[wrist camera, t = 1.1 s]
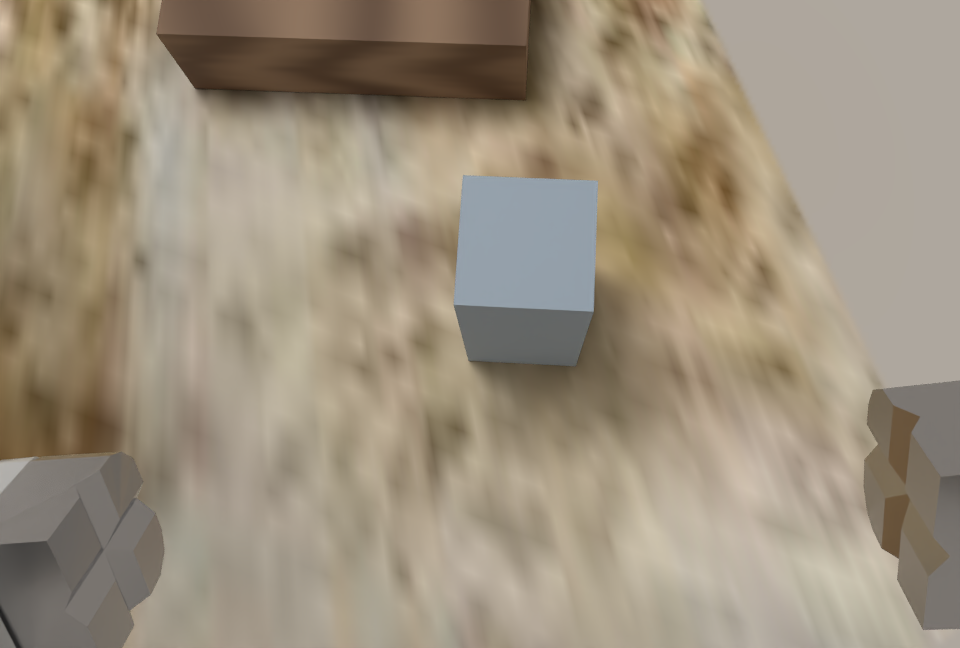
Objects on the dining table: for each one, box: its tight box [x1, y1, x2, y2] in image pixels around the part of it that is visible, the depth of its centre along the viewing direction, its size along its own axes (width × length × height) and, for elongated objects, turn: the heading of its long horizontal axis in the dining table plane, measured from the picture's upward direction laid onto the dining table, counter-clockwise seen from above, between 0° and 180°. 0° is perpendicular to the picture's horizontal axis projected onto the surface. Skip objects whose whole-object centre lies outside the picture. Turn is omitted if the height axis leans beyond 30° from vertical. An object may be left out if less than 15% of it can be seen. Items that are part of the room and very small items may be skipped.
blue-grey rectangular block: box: [454, 175, 598, 366], centre depth 37 cm, size 5×5×10 cm
